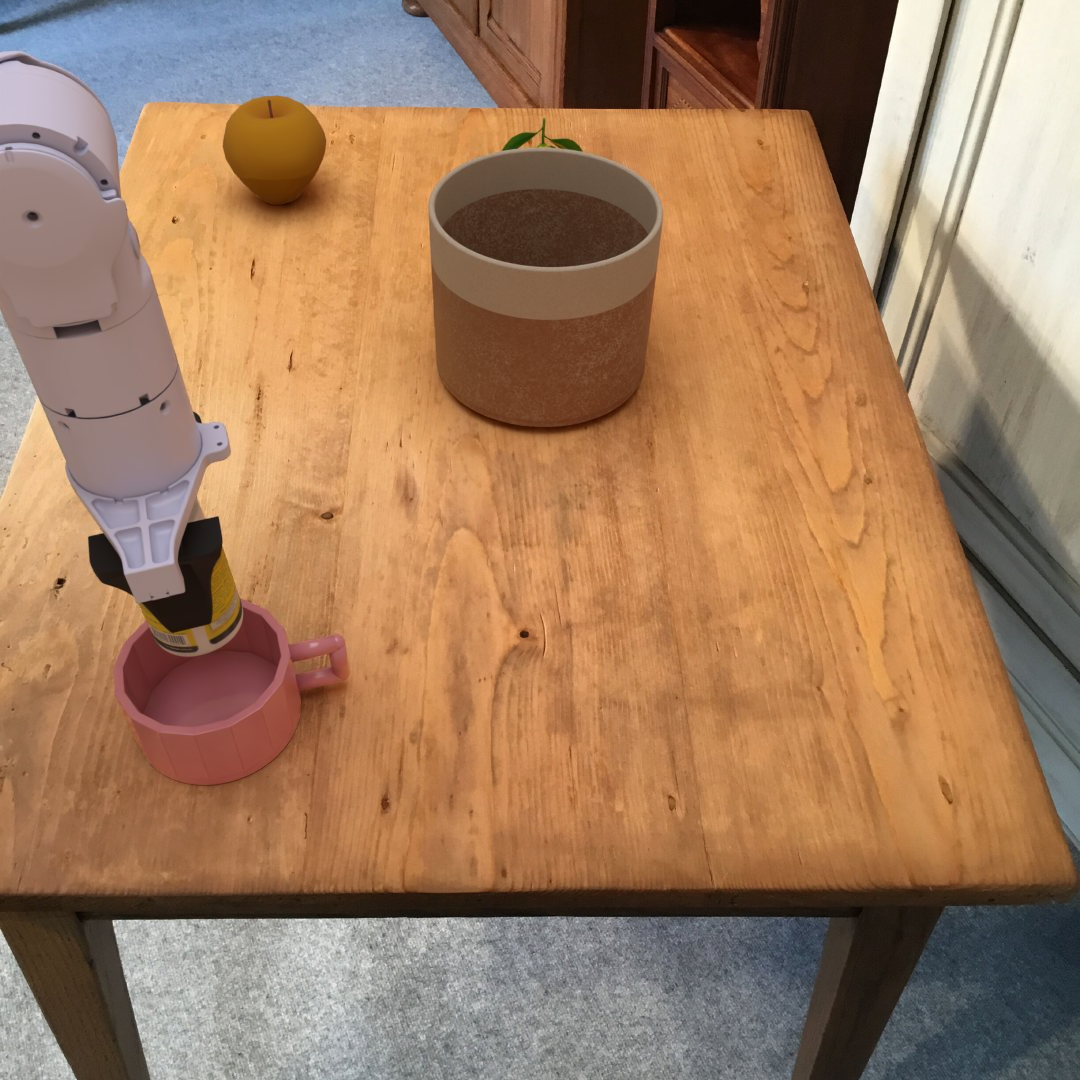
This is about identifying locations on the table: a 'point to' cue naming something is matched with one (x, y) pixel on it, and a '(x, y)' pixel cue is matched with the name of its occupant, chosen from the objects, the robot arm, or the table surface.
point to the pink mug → (220, 698)
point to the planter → (543, 283)
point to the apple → (274, 147)
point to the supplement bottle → (223, 618)
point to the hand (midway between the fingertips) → (184, 585)
